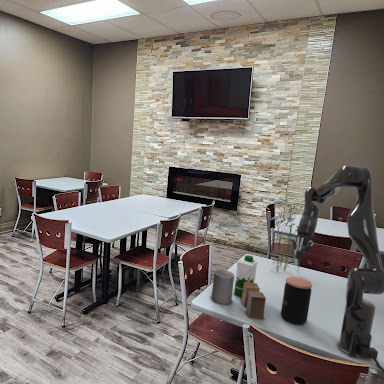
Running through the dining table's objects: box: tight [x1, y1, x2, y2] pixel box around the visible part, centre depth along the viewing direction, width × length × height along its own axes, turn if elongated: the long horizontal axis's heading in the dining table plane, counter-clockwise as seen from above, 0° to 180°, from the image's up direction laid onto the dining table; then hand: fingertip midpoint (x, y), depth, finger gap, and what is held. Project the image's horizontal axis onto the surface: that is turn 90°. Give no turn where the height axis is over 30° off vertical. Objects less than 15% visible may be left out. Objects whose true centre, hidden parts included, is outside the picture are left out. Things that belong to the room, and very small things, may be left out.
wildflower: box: [270, 198, 304, 274], centre depth 207 cm, size 22×23×45 cm
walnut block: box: [246, 291, 267, 320], centre depth 153 cm, size 6×6×10 cm
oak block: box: [241, 282, 261, 308], centre depth 163 cm, size 6×6×10 cm
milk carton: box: [233, 254, 258, 298], centre depth 172 cm, size 9×9×20 cm
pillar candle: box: [211, 269, 235, 305], centre depth 166 cm, size 10×10×15 cm
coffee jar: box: [280, 276, 313, 326], centre depth 150 cm, size 11×11×18 cm
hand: (297, 259), depth 165 cm, fingers closed
